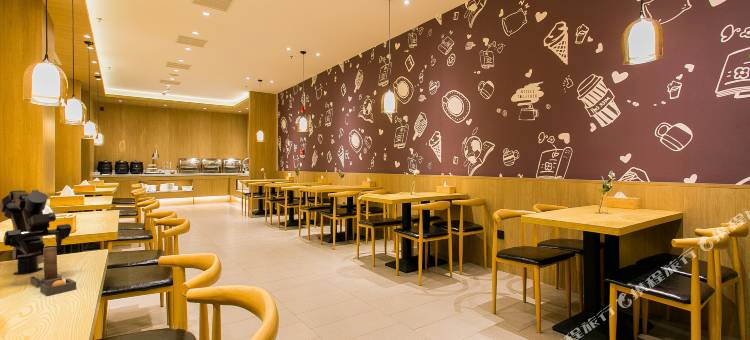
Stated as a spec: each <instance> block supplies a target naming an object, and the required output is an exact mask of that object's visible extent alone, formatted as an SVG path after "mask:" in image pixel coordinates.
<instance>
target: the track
mask: <svg viewBox="0 0 750 340" xmlns="http://www.w3.org/2000/svg"><path fill="white" fill-rule="evenodd" d="M57 276H59V277H60V278H62V275H60V274H58V273H57ZM29 278H30V279H29V280H30V281H29V283H30V284H31V285H32V286H34V287H36V288H40V284H41V279H39V278H37V277H36V276H34V275H33V276H30V277H29ZM62 279H63V278H62Z"/></svg>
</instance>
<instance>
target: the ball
mask: <svg viewBox="0 0 750 340" xmlns="http://www.w3.org/2000/svg"><path fill="white" fill-rule="evenodd" d="M62 284H66V281H64V280H63V279H62V280H57V281H55V282H54V283H53V284H52V287H53V286H57V285H62Z"/></svg>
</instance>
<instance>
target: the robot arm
mask: <svg viewBox="0 0 750 340" xmlns="http://www.w3.org/2000/svg"><path fill="white" fill-rule="evenodd" d="M48 198H49V197H48V195H47V194H46V193H44V192H42V191H40V190H39V189H33V190H31V192H30V193H29V192H27V191H26V190H24V189H23V190H11V191H9V192H8V195H6V196H5V197H3V198H1V202H0V212H1V213H3V216H4V217H5V218H6V219H7V218H8V219H10V220H11V222H12V226H13V230H6V231H5V232H4V235H3V245H4V246H5V247H7V246H9V247H11V248H12V247H13V249H12V253H11V254H12V255H11V256H12V259H13V260H15V261H16V260H17V264H16V265H17V271H16V272H13V275H21V274H23V275H24V274H33V273H36V272H38V271H40V270H42V269H43V270H44V267H39V263H38V256H40V255H43V249H44V248H45V243H44V240H43V241H41V239H40V237H41V236H43V237H46V236H53V235H54V236H55V243H56V247H57V250H58V251H61V248H62V241H63V240H65V239H66V238H68V237H69V236H70V234H71V231H72V225H71V224H69V223H64V224H57V225H56V228H54V229H48V228H50V227H51V226H50V223H51V222H55V221H56V220H57V219H56V218H57V216H56V213H55V212H48V213H44V212H43V211H45V208H46V205H47V201H48Z"/></svg>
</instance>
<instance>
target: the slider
mask: <svg viewBox="0 0 750 340" xmlns="http://www.w3.org/2000/svg"><path fill="white" fill-rule="evenodd" d="M57 250H58V248H57V246H48V247H44V249H43V255H44V258H43V259H44V261H43V277H42V278H40V280H41V284H45V285H47V286H48V287H52V284H53V283H54V282H55V281H57V280H62V281H63V278H60V277H59V276H57V274H58V254H57V253H58V252H57Z"/></svg>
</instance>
